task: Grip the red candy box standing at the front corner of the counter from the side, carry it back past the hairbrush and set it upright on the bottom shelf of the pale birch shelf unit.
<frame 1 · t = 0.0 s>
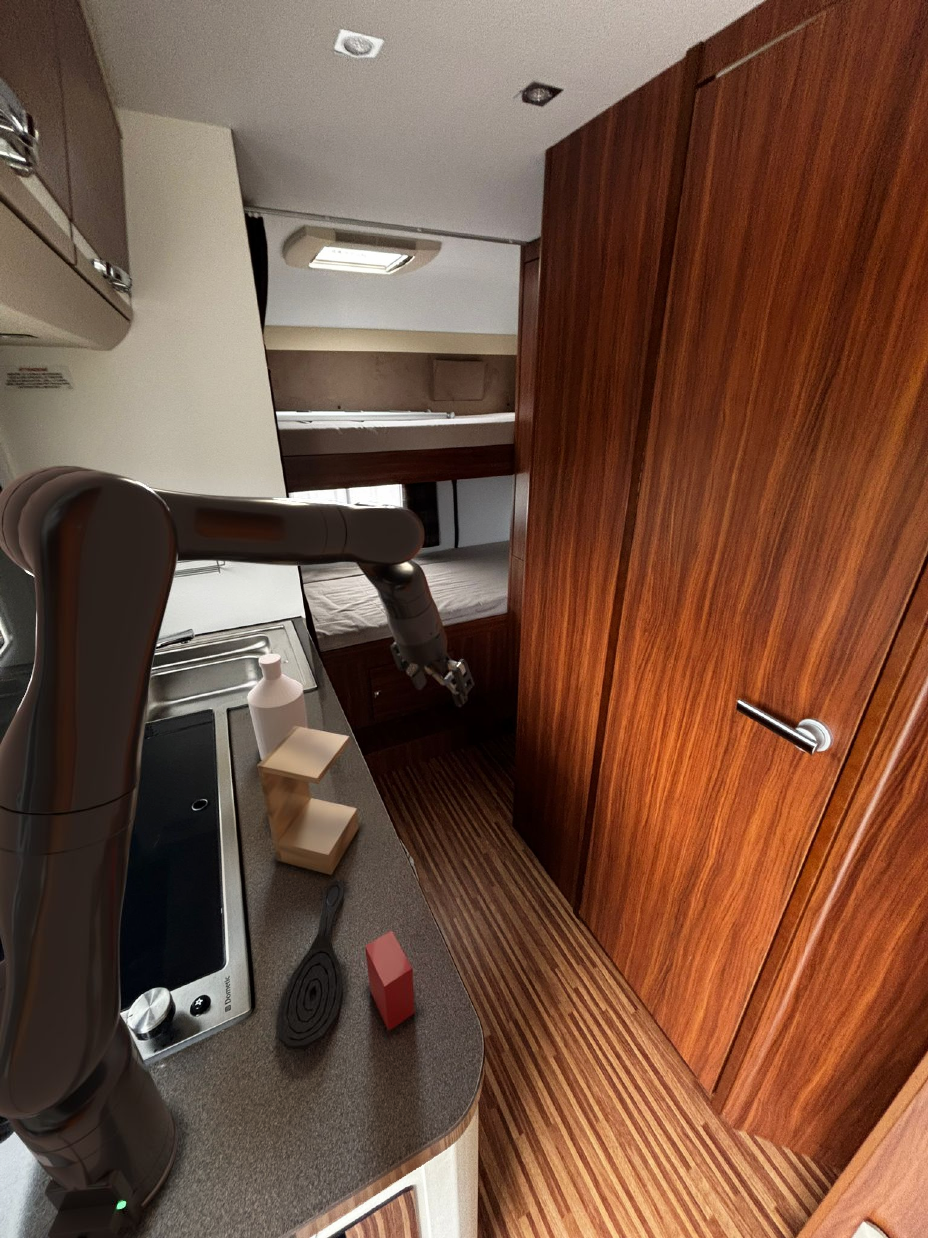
hand: (441, 694, 83), 31 cm above the worktop, tool tilted 20°, fingers open, 8 cm apart
shelf unit: (319, 843, 93), on the worktop
hairbrush: (321, 959, 74), on the worktop
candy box: (392, 1001, 69), on the worktop
onion: (286, 814, 100), on the worktop
bottle: (285, 750, 118), on the worktop
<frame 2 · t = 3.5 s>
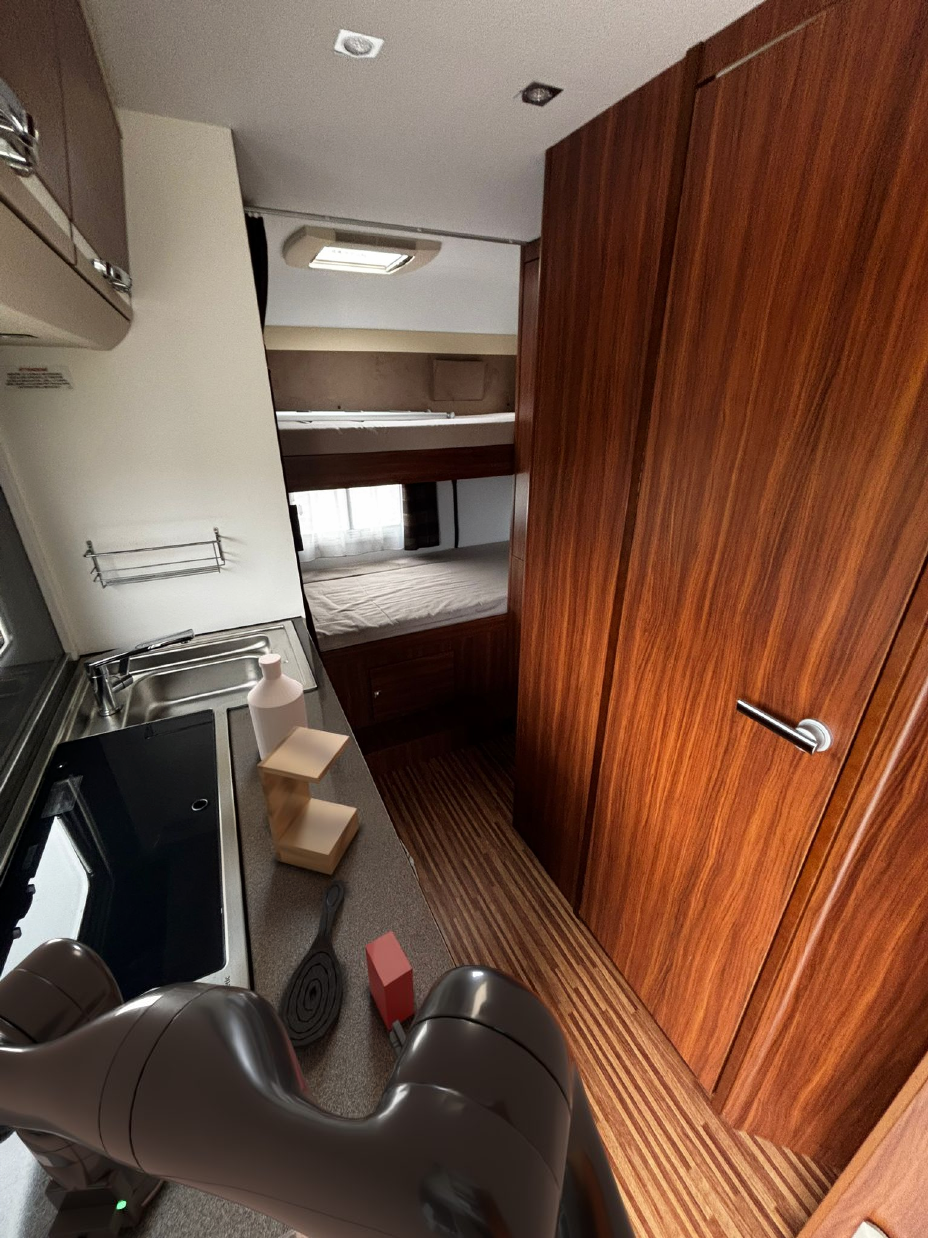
hand: (429, 1000, 53), 18 cm above the worktop, tool horizontal, fingers open, 8 cm apart
nothing on the worktop moved.
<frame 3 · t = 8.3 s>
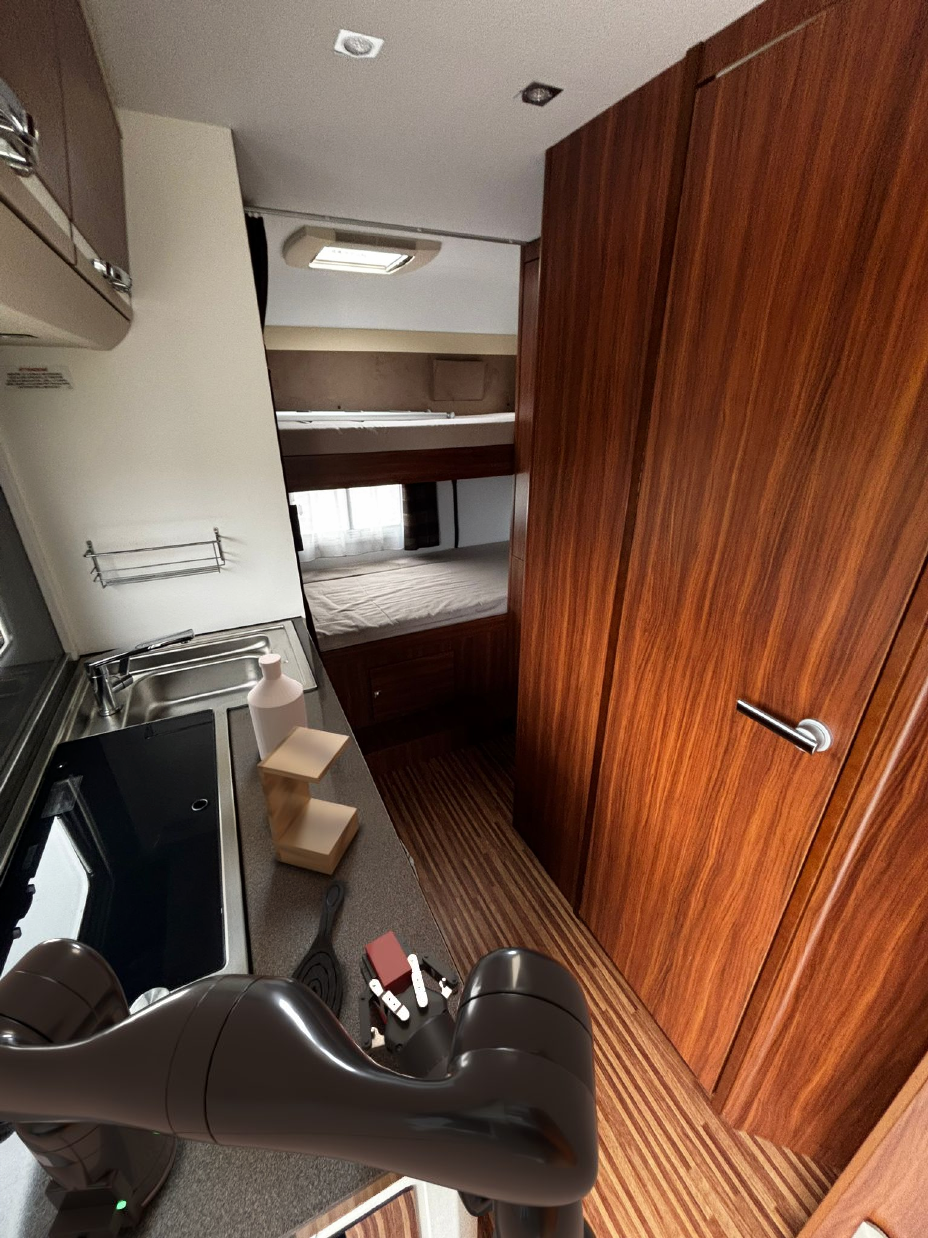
hand: (380, 949, 68), 8 cm above the worktop, tool horizontal, fingers closed on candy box, 4 cm apart
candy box: (391, 1001, 69), on the worktop, touching gripper
everything else where it was.
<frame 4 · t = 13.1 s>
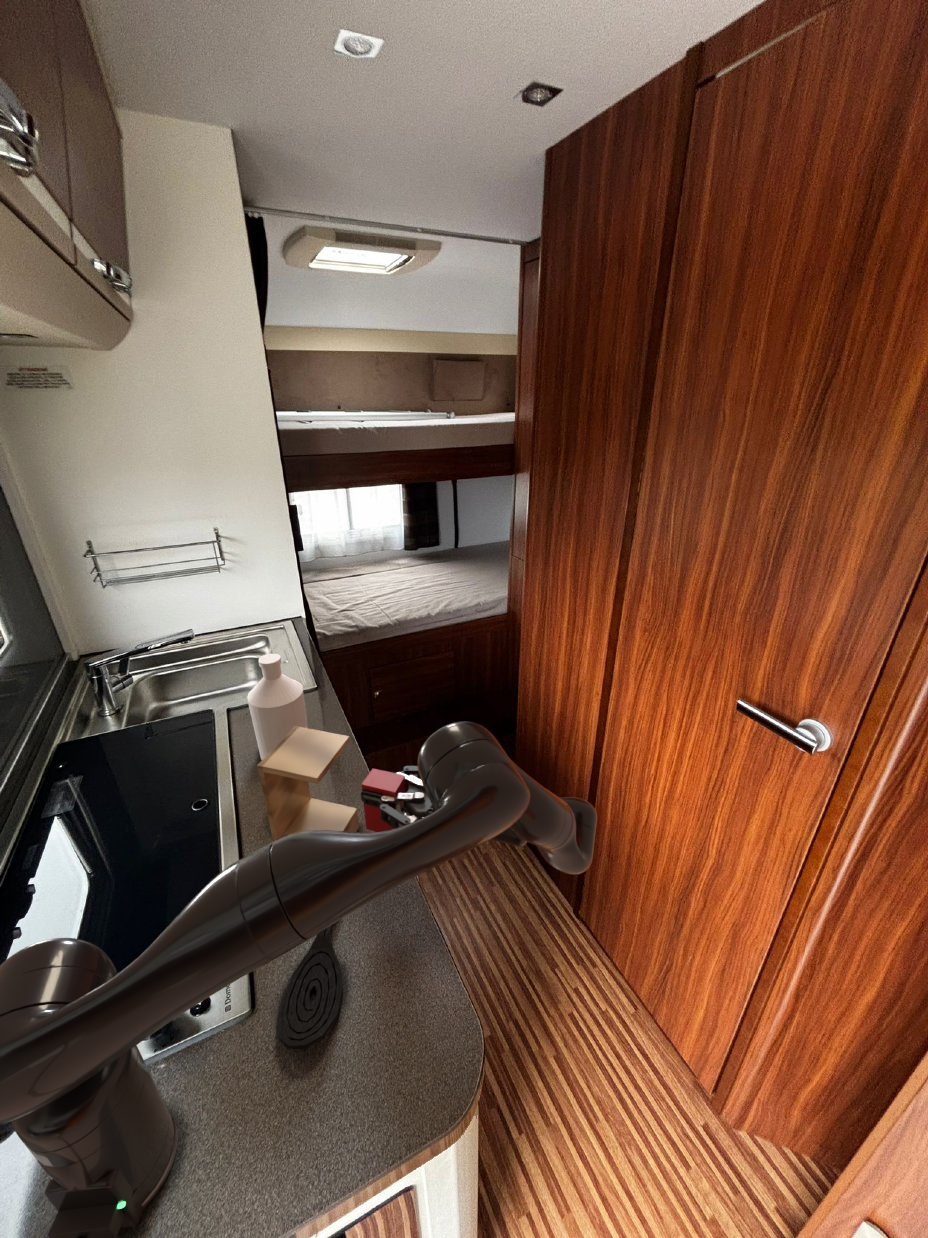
hand: (369, 785, 83), 18 cm above the worktop, tool horizontal, fingers closed on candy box, 4 cm apart
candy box: (387, 824, 85), point 10 cm above the worktop, touching gripper
everything else where it was.
when the fingers open (13 cm above the worktop, at t = 18.2 s): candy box stays where it is, resting on shelf unit.
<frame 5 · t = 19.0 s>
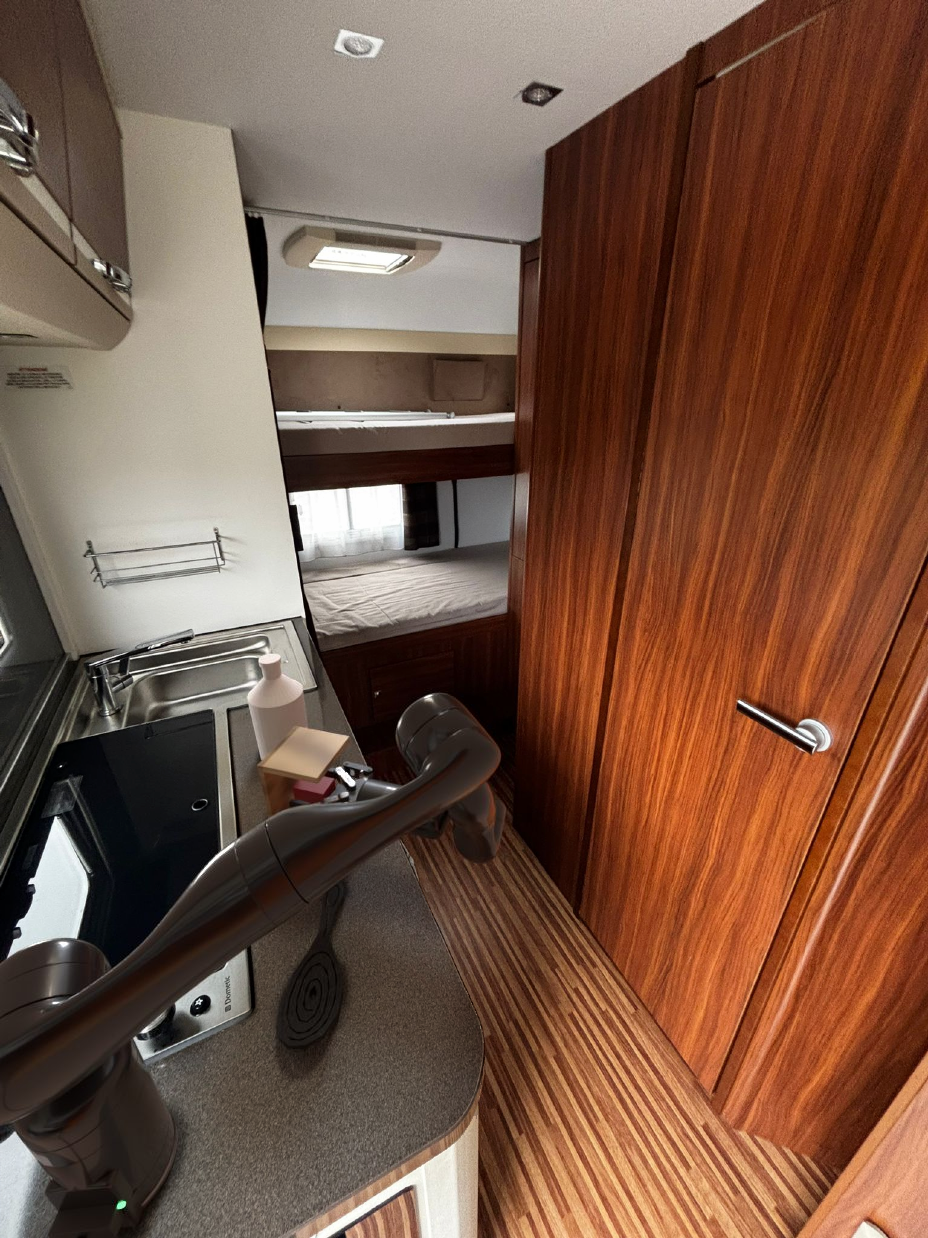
hand: (304, 787, 88), 14 cm above the worktop, tool horizontal, fingers open, 8 cm apart
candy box: (320, 824, 91), point 5 cm above the worktop, touching shelf unit
everything else where it was.
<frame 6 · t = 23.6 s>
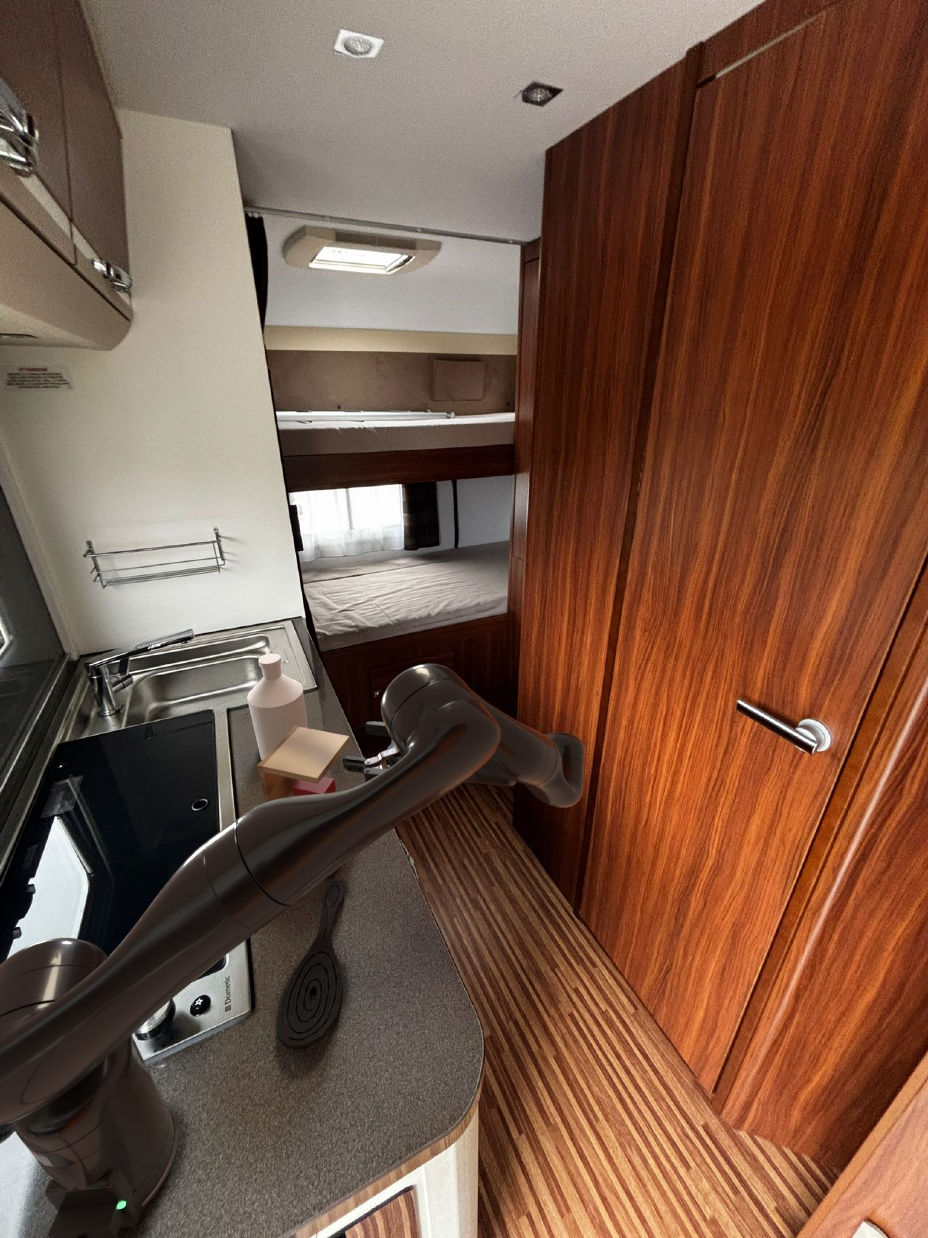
hand: (355, 744, 80), 26 cm above the worktop, tool horizontal, fingers open, 8 cm apart
nothing on the worktop moved.
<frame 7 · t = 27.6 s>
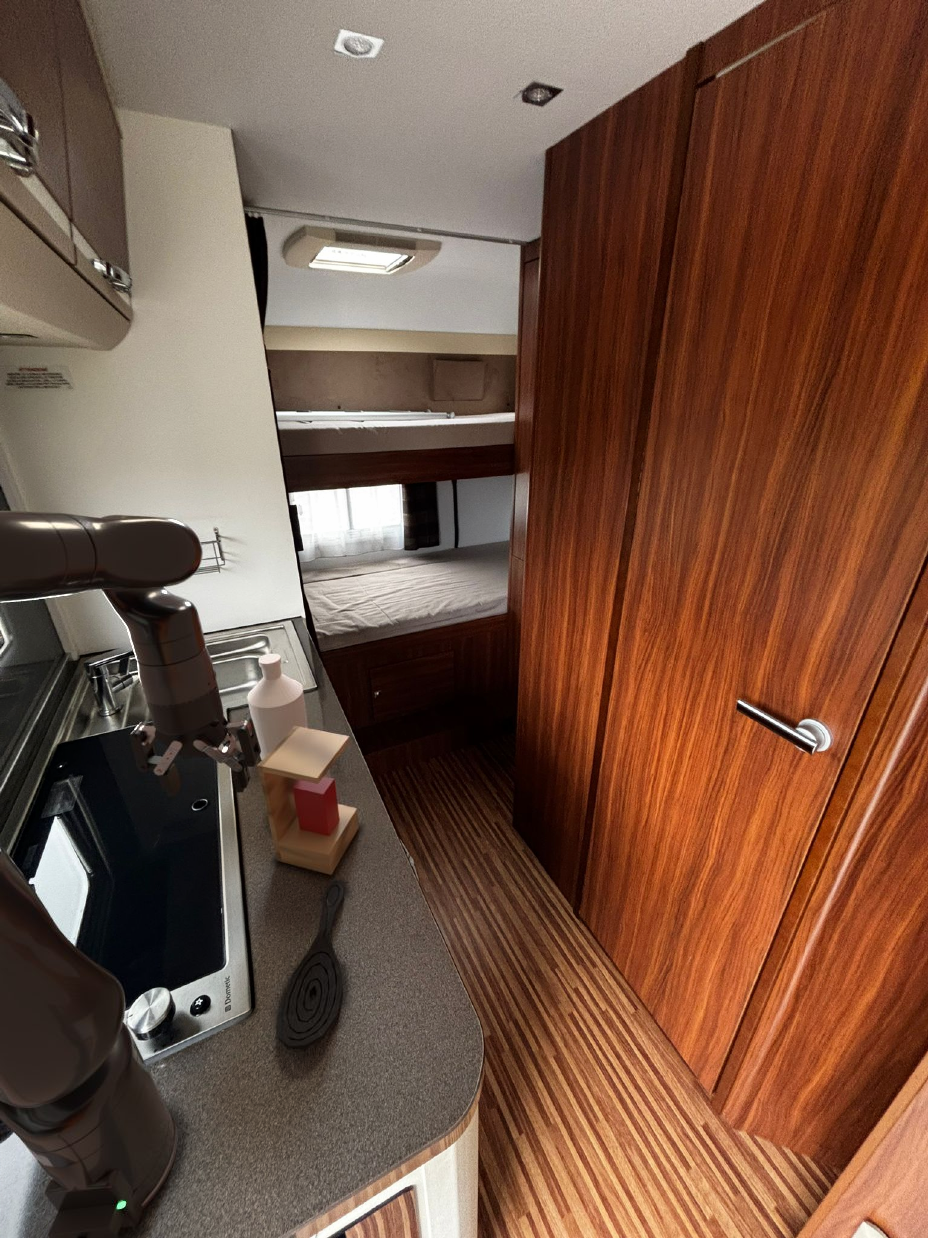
hand: (209, 789, 65), 30 cm above the worktop, tool pointing down, fingers open, 8 cm apart
nothing on the worktop moved.
at the end: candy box inside the target area on the shelf unit (0.6 cm from its centre), point 5.0 cm above the shelf unit's base; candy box tilted 0°; the gripper is holding nothing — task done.
